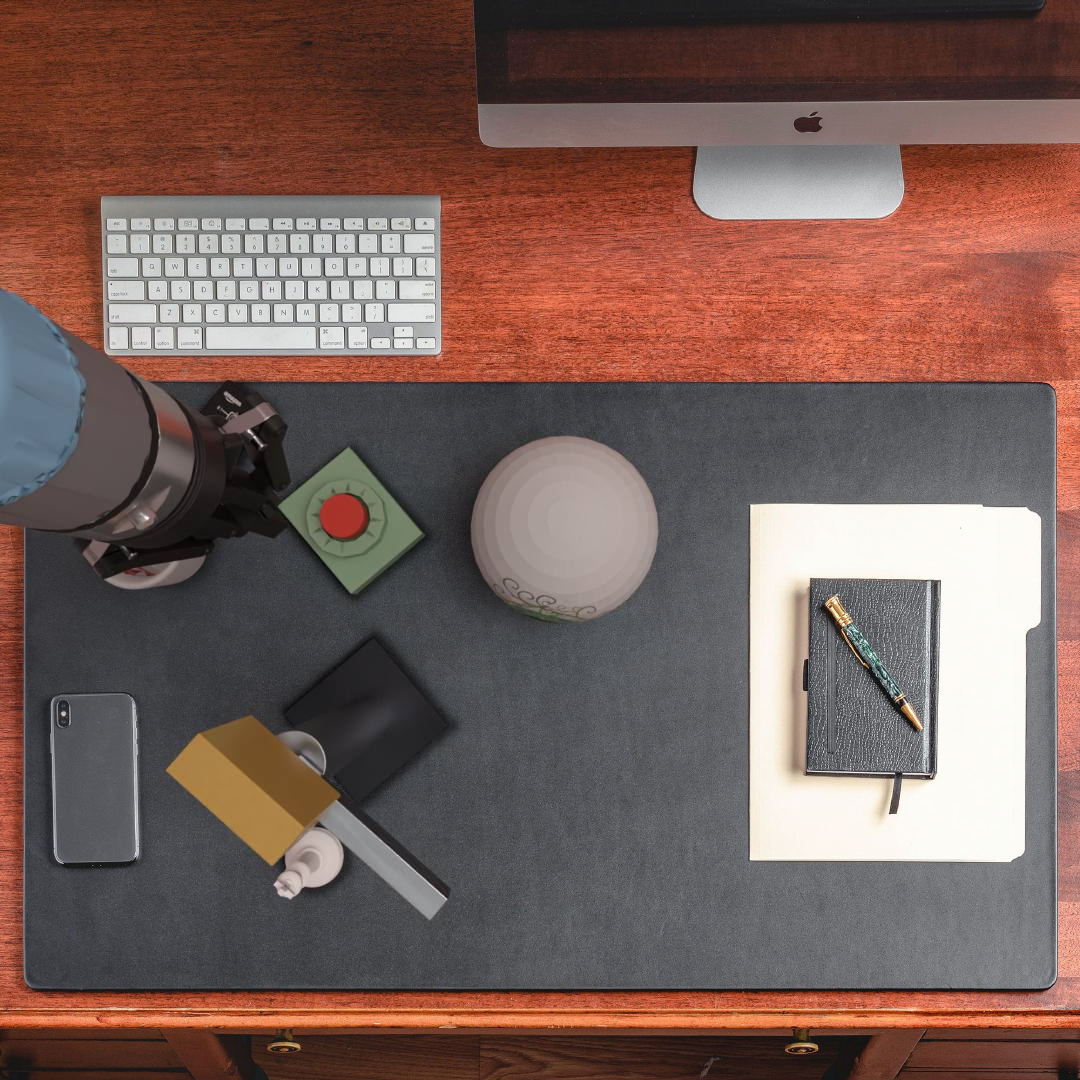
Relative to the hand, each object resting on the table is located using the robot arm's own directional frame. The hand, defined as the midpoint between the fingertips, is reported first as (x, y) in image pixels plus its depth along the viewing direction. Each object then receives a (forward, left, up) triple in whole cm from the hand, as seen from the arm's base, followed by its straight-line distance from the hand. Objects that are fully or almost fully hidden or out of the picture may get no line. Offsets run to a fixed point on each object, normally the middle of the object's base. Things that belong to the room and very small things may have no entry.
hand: (269, 517), depth 63 cm
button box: (+1, +3, -15) cm, 15 cm away
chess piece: (+21, -18, -15) cm, 32 cm away
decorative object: (+14, +16, -15) cm, 26 cm away
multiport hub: (-12, -2, -15) cm, 20 cm away
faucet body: (+15, -7, -15) cm, 22 cm away
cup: (-9, -11, -15) cm, 21 cm away
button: (+1, +3, -12) cm, 12 cm away
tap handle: (+19, -6, +9) cm, 22 cm away
